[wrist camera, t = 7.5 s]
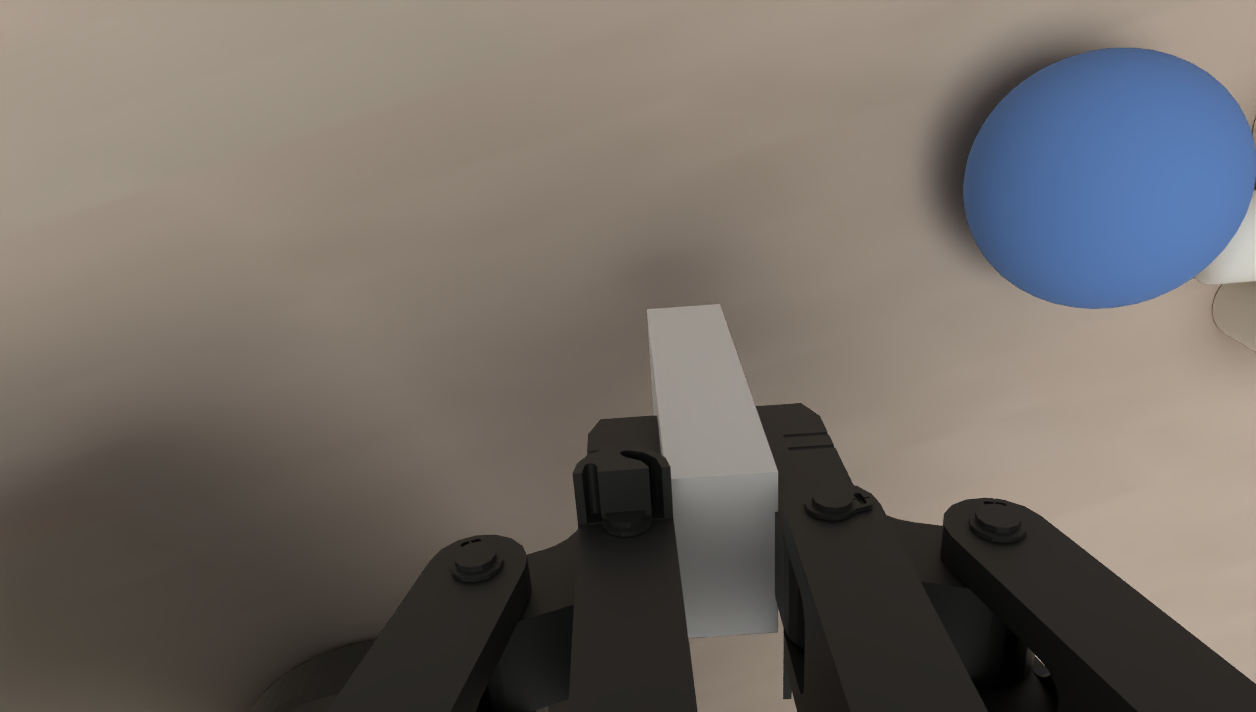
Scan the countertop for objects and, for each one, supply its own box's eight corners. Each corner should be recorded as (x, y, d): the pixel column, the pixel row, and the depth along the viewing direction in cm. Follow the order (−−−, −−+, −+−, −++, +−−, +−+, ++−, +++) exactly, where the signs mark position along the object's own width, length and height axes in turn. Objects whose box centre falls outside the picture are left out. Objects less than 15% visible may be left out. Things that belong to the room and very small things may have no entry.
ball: (1217, 285, 16) (926, 322, 20) (1304, 293, 20) (1043, 322, 24) (1183, -30, 16) (904, 77, 21) (1277, 38, 20) (1023, 115, 25)
